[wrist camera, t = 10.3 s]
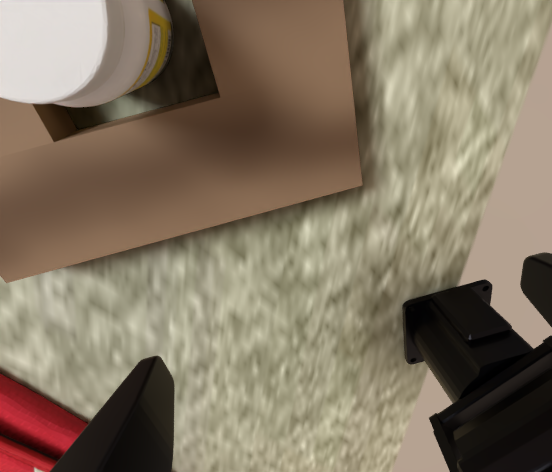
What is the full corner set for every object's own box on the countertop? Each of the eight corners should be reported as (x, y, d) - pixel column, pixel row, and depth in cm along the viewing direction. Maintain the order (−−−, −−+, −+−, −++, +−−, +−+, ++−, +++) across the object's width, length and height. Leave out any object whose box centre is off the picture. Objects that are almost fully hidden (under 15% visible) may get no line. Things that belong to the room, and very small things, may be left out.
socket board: (346, 170, 19) (362, 185, 16) (32, 255, 18) (6, 282, 16) (271, -411, 10) (285, -546, 7) (-341, -259, 9) (-509, -354, 7)
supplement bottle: (30, -33, 13) (-226, -152, 5) (152, -55, 13) (63, -197, 6) (86, 99, 15) (-40, 140, 8) (188, 78, 15) (158, 100, 8)
